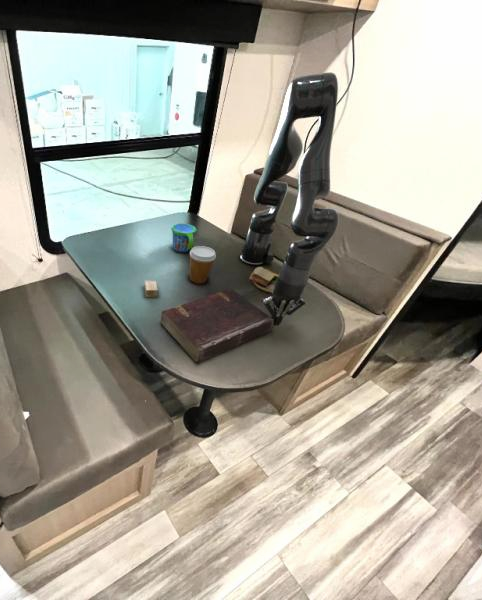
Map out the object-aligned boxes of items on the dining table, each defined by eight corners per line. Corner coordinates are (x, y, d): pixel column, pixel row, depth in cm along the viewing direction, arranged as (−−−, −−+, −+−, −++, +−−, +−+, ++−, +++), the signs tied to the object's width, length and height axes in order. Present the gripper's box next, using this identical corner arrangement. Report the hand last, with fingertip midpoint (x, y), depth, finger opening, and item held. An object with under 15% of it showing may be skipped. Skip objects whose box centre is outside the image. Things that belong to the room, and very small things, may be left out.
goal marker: (155, 287, 116) (155, 280, 114) (156, 297, 111) (157, 290, 109) (144, 287, 116) (144, 280, 114) (145, 297, 111) (146, 290, 109)
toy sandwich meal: (276, 298, 113) (280, 287, 110) (243, 282, 121) (246, 272, 118) (291, 286, 120) (296, 275, 117) (259, 271, 128) (263, 261, 125)
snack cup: (164, 242, 147) (166, 221, 141) (185, 240, 149) (188, 220, 143) (175, 258, 135) (178, 236, 129) (198, 256, 137) (202, 234, 131)
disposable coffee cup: (210, 287, 117) (216, 259, 110) (184, 283, 119) (189, 255, 112) (210, 274, 125) (216, 247, 118) (186, 271, 126) (190, 244, 119)
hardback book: (197, 363, 87) (200, 350, 84) (160, 323, 100) (162, 311, 97) (270, 331, 98) (275, 319, 95) (228, 299, 111) (231, 288, 108)
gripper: (308, 270, 93) (289, 316, 103) (264, 270, 92) (249, 316, 102) (322, 284, 87) (300, 331, 97) (276, 285, 86) (259, 332, 96)
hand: (274, 323), depth 99 cm, fingers closed
